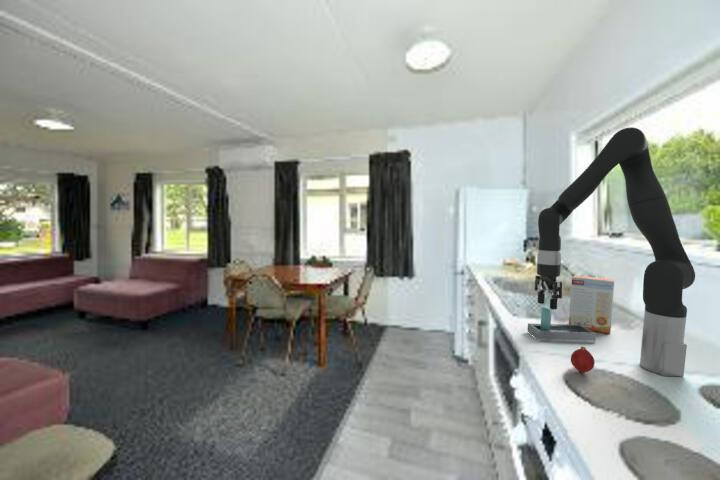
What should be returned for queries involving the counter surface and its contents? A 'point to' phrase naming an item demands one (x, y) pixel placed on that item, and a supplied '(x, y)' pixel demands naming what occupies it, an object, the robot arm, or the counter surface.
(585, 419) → the counter surface
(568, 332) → the grey rectangular tray
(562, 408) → the counter surface
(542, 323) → the peg
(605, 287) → the cracker box
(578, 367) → the onion
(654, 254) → the robot arm
